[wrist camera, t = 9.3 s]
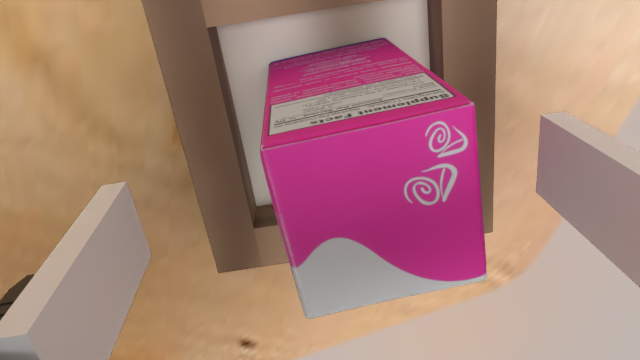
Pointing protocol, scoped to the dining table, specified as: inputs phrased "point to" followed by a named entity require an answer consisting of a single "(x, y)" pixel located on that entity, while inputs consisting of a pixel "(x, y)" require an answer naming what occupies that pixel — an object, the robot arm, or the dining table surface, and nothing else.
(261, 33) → the socket block
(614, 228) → the robot arm
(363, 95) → the supplement box
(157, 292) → the dining table surface
